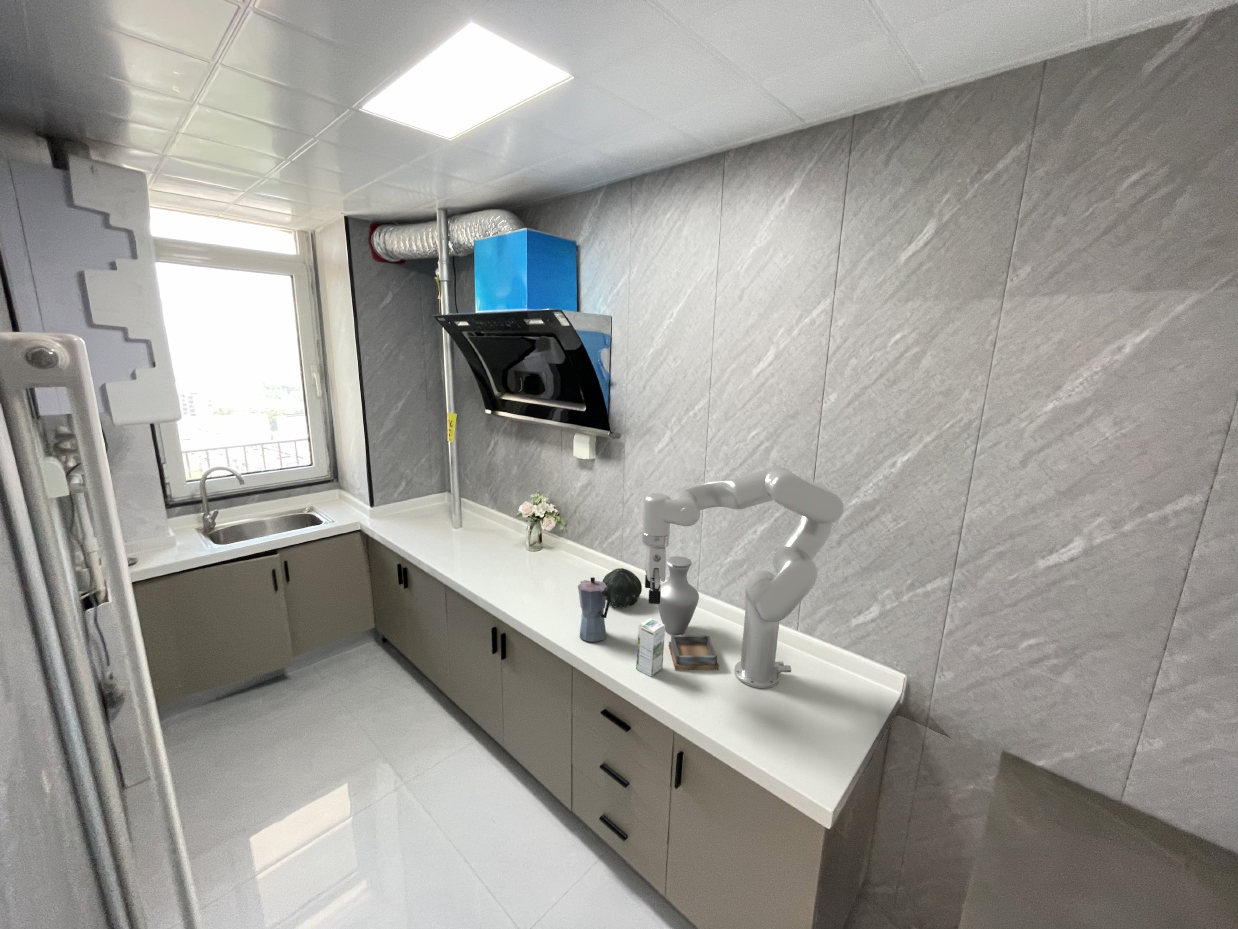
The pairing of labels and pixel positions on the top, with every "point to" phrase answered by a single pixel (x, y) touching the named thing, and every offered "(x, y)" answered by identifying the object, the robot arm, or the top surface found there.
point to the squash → (622, 587)
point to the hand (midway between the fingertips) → (652, 595)
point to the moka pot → (593, 609)
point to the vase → (677, 597)
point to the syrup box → (650, 647)
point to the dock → (693, 652)
